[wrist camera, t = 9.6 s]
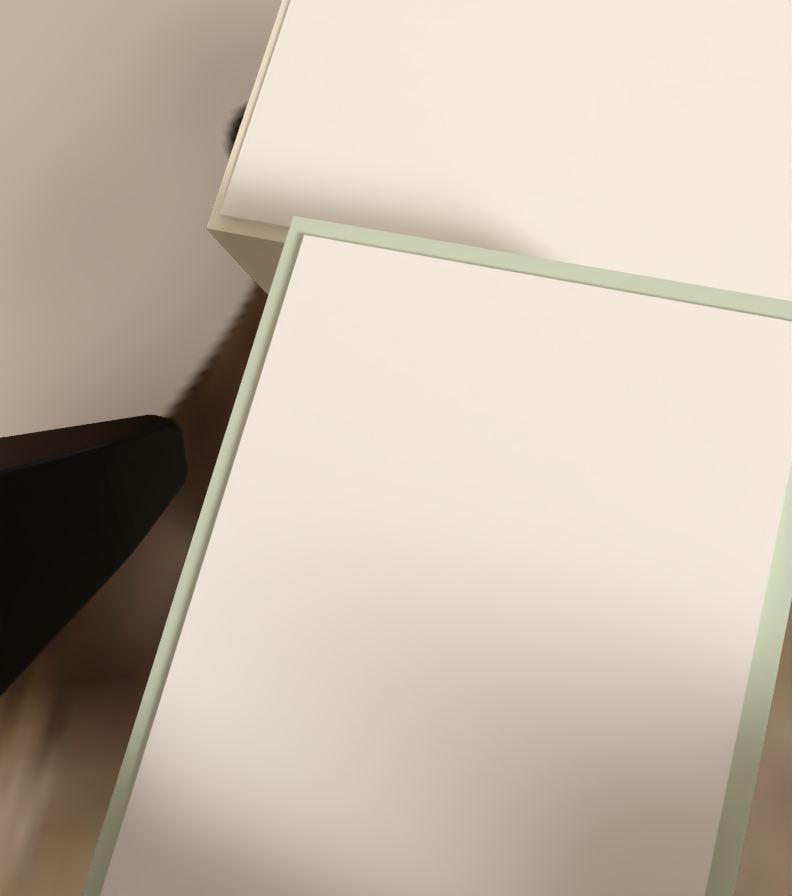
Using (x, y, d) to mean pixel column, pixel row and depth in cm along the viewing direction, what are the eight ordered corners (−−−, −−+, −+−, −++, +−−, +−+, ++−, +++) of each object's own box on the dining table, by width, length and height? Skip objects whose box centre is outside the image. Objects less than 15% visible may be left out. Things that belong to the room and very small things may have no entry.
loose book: (618, 486, 15) (854, 304, 5) (548, 787, 14) (636, 1431, 4) (439, 443, 16) (290, 209, 6) (364, 722, 15) (13, 1086, 5)
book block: (791, 274, 16) (1072, -21, 8) (749, 474, 15) (1007, 373, 7) (397, 208, 18) (302, -75, 10) (346, 380, 17) (202, 224, 9)
